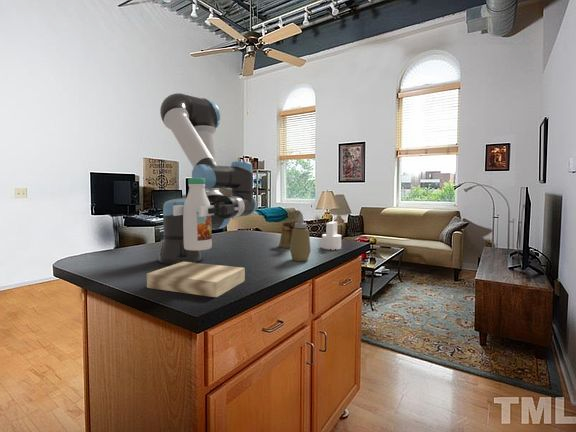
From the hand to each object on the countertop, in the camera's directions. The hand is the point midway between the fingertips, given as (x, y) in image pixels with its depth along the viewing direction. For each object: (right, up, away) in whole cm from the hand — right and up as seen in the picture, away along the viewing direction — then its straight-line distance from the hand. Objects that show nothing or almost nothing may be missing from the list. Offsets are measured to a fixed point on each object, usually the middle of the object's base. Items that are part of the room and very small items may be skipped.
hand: (186, 211), depth 89 cm
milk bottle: (+1, -11, +5) cm, 12 cm away
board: (+1, -21, +7) cm, 22 cm away
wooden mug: (+28, -16, +67) cm, 74 cm away
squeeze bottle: (+32, -19, +40) cm, 55 cm away
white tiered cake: (+48, -17, +68) cm, 84 cm away
